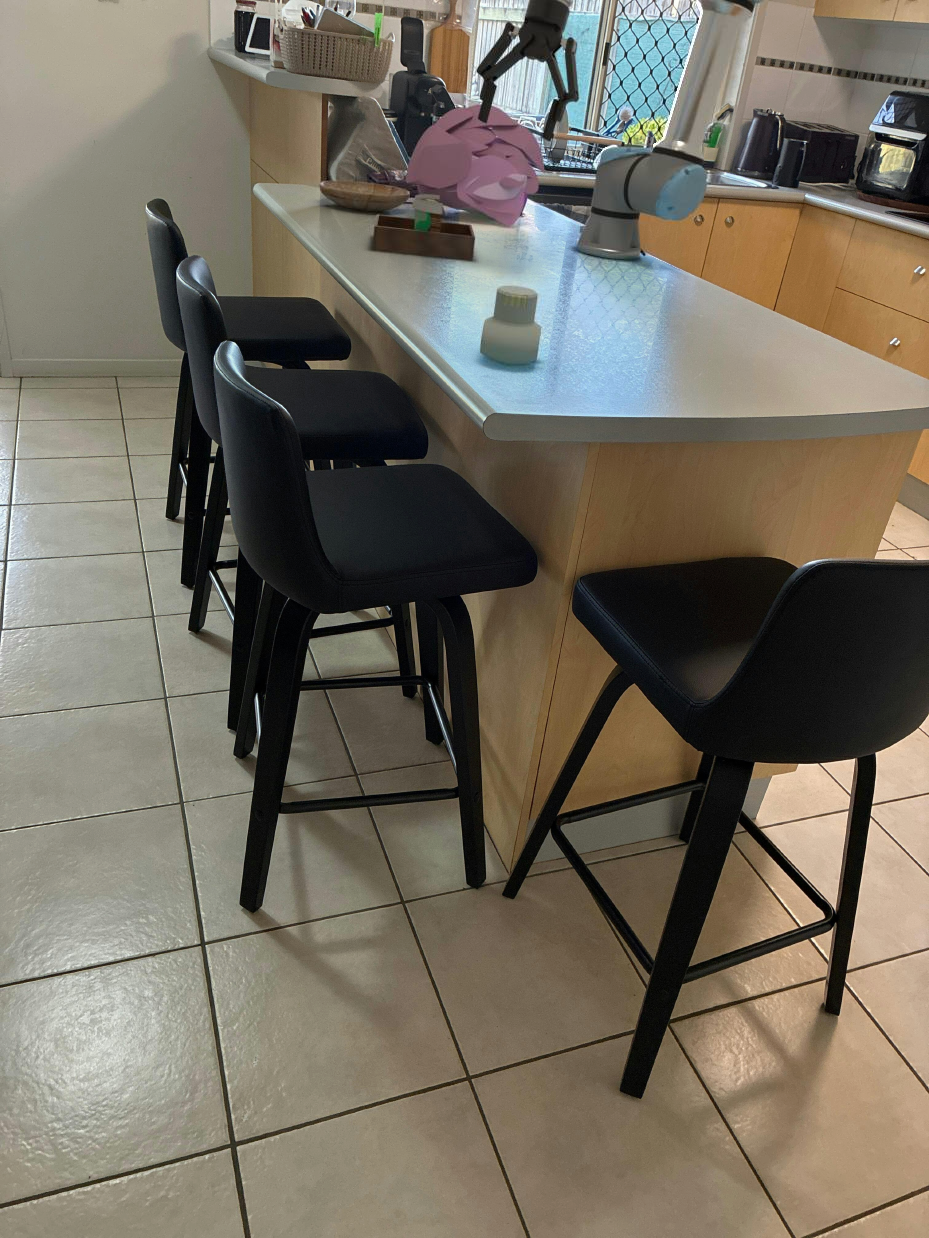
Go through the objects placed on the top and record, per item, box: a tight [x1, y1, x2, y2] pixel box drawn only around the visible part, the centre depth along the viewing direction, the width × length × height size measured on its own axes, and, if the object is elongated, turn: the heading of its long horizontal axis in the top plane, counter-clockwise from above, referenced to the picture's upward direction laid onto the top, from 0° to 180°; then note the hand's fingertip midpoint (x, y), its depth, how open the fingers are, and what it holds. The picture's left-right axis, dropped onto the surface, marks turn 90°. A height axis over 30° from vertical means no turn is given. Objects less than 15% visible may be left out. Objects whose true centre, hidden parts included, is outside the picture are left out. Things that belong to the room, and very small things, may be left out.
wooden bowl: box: [318, 179, 410, 212], centre depth 237 cm, size 23×24×5 cm
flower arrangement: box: [405, 103, 546, 228], centre depth 238 cm, size 35×24×28 cm
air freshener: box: [479, 285, 542, 366], centre depth 132 cm, size 11×8×10 cm
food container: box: [411, 194, 444, 233], centre depth 197 cm, size 12×6×10 cm, turn 5°
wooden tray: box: [372, 213, 476, 262], centre depth 198 cm, size 21×15×5 cm
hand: (513, 130), depth 170 cm, fingers open, 13 cm apart
